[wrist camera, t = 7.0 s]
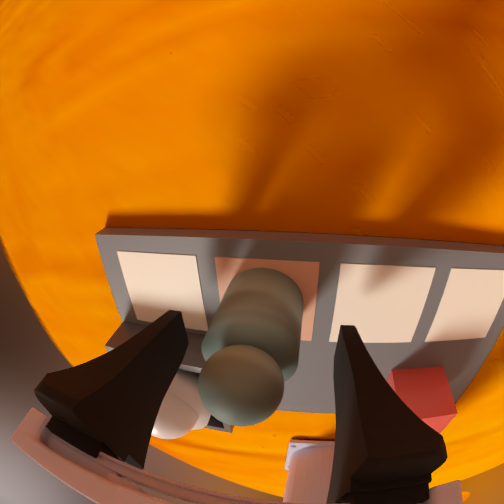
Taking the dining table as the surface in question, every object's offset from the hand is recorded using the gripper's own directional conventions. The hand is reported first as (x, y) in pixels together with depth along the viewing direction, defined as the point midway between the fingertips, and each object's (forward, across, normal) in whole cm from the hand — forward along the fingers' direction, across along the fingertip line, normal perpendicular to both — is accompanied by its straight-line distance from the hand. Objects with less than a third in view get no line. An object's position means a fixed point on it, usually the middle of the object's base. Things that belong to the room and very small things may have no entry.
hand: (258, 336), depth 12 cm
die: (+3, -10, +7) cm, 12 cm away
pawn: (+2, 0, 0) cm, 3 cm away
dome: (+1, +6, +7) cm, 9 cm away
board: (+4, -3, +4) cm, 6 cm away
